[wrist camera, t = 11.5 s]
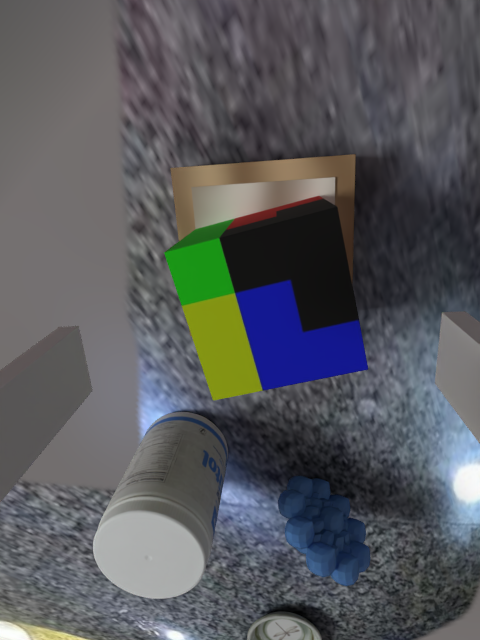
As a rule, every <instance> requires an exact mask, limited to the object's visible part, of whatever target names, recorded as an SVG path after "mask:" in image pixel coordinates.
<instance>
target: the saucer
mask: <svg viewBox="0 0 480 640" xmlns="http://www.w3.org/2000/svg"><path fill="white" fill-rule="evenodd" d="M247 640H322V637H321V634H320V632H319V631H318V629H317V628H316V627H315V626H314V625H313V624H312V623H311V622H309V621H308V620H306V619H305V618H303V617H302V616H300V615H297V614H294V613H290V612H273V613H270V614H267V615H265V616H263V617H261V618H260V619H258V620H257V621H255V622H254V623H253V624H252V625H251V627H250V629H249V631H248V636H247Z"/></svg>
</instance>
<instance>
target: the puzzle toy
mask: <svg viewBox="0 0 480 640" xmlns="http://www.w3.org/2000/svg"><path fill="white" fill-rule="evenodd" d="M164 253H165V256H166V259H167V262H168V265H169V268H170V272H171V275H172V278H173V281H174V284H175V287H176V290H177V293H178V296H179V299H180V302H181V305H182V308H183V311H184V314H185V317H186V320H187V323H188V326H189V329H190V332H191V335H192V338H193V341H194V344H195V347H196V350H197V353H198V356H199V359H200V362H201V365H202V368H203V371H204V374H205V377H206V380H207V383H208V386H209V389H210V392H211V395H212V398H213V400H218V399H223V398H228V397H233V396H238V395H243V394H248V393H253V392H258V391H263V390H268V389H273V388H278V387H283V386H288V385H293V384H298V383H303V382H308V381H313V380H318V379H323V378H328V377H333V376H338V375H343V374H348V373H353V372H358V371H363V370H368V365H367V360H366V355H365V349H364V344H363V339H362V334H361V328H360V323H359V318H358V313H357V307H356V302H355V297H354V291H353V286H352V281H351V276H350V270H349V265H348V260H347V255H346V249H345V244H344V239H343V234H342V228H341V223H340V218H339V212H338V207H337V206H336V205H334V204H332V203H331V202H329V201H327V200H325V199H324V198H322V197H320V196H316V197H312V198H308V199H305V200H301V201H297V202H294V203H290V204H286V205H283V206H279V207H275V208H272V209H268V210H264V211H261V212H257V213H253V214H249V215H246V216H242V217H238V218H235V219H231V220H227V221H224V222H220V223H216V224H213V225H209V226H205V227H202V228H198V229H195V230H194V231H192V232H191V233H190V234H188V235H187V236H186V237H184V238H183V239H182V240H180V241H179V242H178V243H176V244H175V245H174V246H172V247H171V248H170V249H168V250H167V251H166V252H164Z"/></svg>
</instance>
